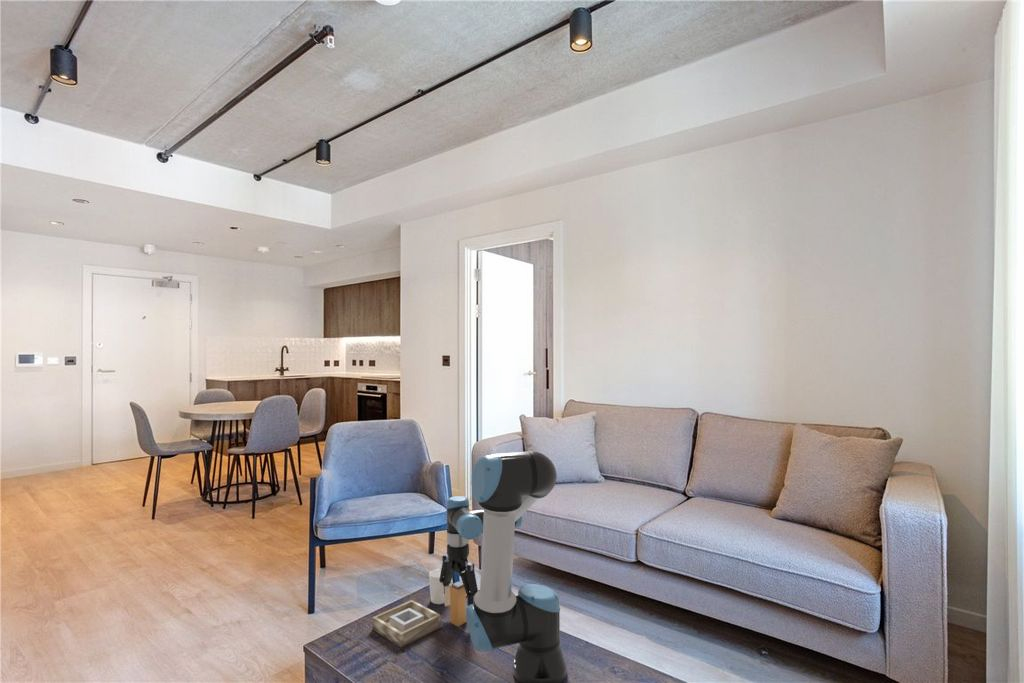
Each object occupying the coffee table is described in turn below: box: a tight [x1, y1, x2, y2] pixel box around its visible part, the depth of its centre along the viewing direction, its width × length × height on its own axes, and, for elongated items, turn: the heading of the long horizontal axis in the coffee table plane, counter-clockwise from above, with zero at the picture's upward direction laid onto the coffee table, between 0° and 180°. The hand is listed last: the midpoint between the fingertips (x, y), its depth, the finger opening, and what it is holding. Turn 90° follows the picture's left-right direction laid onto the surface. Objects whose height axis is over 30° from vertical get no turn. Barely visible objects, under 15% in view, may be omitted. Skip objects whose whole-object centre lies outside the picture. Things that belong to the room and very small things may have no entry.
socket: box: [390, 608, 424, 632], centre depth 170 cm, size 8×8×3 cm
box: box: [371, 599, 442, 648], centre depth 170 cm, size 16×16×4 cm
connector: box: [449, 580, 467, 627], centre depth 174 cm, size 4×4×13 cm
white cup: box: [428, 567, 451, 605], centre depth 189 cm, size 8×8×10 cm
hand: (458, 609), depth 173 cm, fingers open, 10 cm apart
